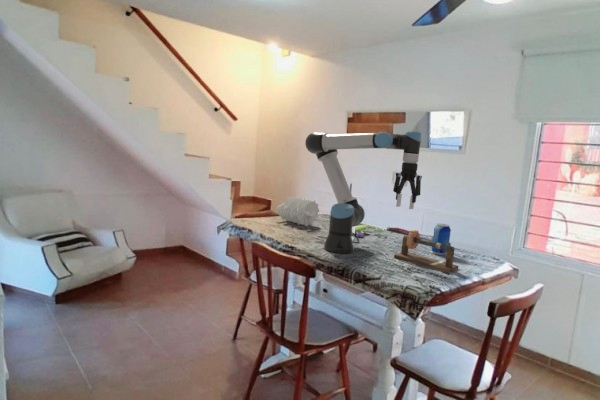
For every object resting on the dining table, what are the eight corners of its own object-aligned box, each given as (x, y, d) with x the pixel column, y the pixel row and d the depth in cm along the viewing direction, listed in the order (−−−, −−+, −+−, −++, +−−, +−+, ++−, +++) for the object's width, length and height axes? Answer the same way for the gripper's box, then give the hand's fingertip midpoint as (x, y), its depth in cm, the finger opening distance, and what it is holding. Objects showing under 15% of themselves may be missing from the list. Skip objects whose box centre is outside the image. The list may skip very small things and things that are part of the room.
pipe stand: (446, 272, 196) (449, 248, 195) (394, 257, 216) (396, 235, 214) (458, 268, 205) (461, 245, 203) (406, 254, 224) (409, 233, 223)
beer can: (439, 256, 227) (443, 226, 225) (427, 251, 235) (431, 223, 232) (450, 255, 231) (454, 226, 229) (439, 251, 239) (442, 223, 236)
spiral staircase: (289, 225, 295) (316, 231, 277) (272, 216, 282) (299, 221, 265) (298, 201, 299) (325, 205, 281) (282, 190, 286) (309, 194, 269)
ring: (409, 249, 211) (411, 231, 210) (405, 248, 213) (407, 231, 212) (418, 247, 218) (420, 230, 216) (415, 246, 219) (417, 229, 218)
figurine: (388, 237, 266) (389, 228, 265) (353, 239, 252) (355, 229, 252) (369, 230, 282) (370, 222, 281) (336, 232, 268) (337, 223, 267)
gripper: (431, 164, 210) (426, 210, 213) (397, 160, 224) (392, 204, 227) (424, 164, 205) (418, 211, 208) (389, 160, 219) (384, 204, 222)
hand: (404, 207), depth 218 cm, fingers open, 7 cm apart
